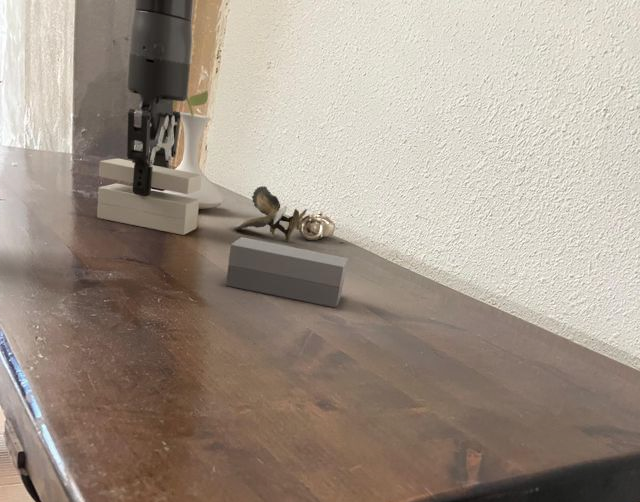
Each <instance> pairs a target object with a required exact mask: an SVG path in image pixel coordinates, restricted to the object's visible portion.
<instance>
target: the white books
mask: <svg viewBox="0 0 640 502" xmlns="http://www.w3.org/2000/svg"><path fill="white" fill-rule="evenodd" d="M198 208H199V199H194V198H189V197H184V196H179V195H174V194H168V193H163V192H158V191H153V190H151V194H150V195H149V196H141V195H136V194H134V193H133V185H127V184H122V183H118V182H115V183H112V184H111V183H110V184H107V185H102V186H99V187H98V194H97V215H96V217H97V219H101V220H106V221H111V222H117V223H121V224H126V225H131V226H137V227H142V228H145V229H151V230H156V231H161V232H166V233H172V234H176V235H181V236H185V235H186V234H188V233H190V232H193V231H194V230H196V229H197V226H198V217H199V216H198V215H199V209H198Z"/></svg>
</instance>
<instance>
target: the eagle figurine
mask: <svg viewBox="0 0 640 502" xmlns="http://www.w3.org/2000/svg"><path fill="white" fill-rule="evenodd" d="M251 199H252V203H253V206H254V207H255V208H256V209H257V210H258V211H259V212H260V213H261V214H264V215H265V216H255V217H250V218H248V219H245V221H243V222H242V223H241V224H240V225H238V226H235V227H234V228H233V229H234V230H236V231H237V230H241V229H243V228H246V229H247V228H251V227H252V228H257V229H258V228H264V227H266V226H269V233H272V236H274V235H276V233H275V232H276V230H277V229H278V230H279V231H280V232H281V233H283V234H284V236H285V241H286V242H287V243H289V242H290V238H291V235H292V232H293V231H294V229H296V228H295V226H296V224H297V223H298V222H299V221H300V220H301V218H302V217H303V218H304V217H305V216H306V212H307V210H308V209H307V208H305V209H304V210H303V211H302V212H301V213H300V212H299V210H298V209H297V208H295V209H294V210H293V214H292V215H291V216H289V217H287V216H285V215H284V214H285V213H286V211H287V209H288V207H287V205H284V206H283V207H282V208H281V203H280V201H279V198H278V197H277V195H274V194H272V193H271V192H270V191H269V189H268V187H267V186H266V185H262V186H259V187H256V189H255V190H254V192H253V195H252V196H251ZM280 222H286V223H288V226H287V228H285V227H284V226H283V224H281V223H280Z"/></svg>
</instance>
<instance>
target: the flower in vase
mask: <svg viewBox="0 0 640 502" xmlns="http://www.w3.org/2000/svg"><path fill="white" fill-rule="evenodd" d="M195 49H196V44H195V40H194V38H192V50H191V61H190V65H191V64H192V62H193V60H192V58H193V56H194V55H195V51H194V50H195ZM208 97H209V91H208V90H206V91H203V92H201V93H198V94H194V95H190V97H189V95H188V94H187V99H186V102H187V106H188V108H189V110H190V112H183V111H179V112H180V116H181V117H180V121H181V123H182V126H183V127H182V128H183V133H184V134H183V135H184V147H183V156H182V160H181V161H180V164H179V165H178V166H176V168H174V169H175V170H180V171H185V172H190V173H195V174H200V175H202V178H201V188H200V190H198V191H195V192H192V193H189V194H184V193H179V192H174V191H169V190H165V191H159V190H153V189H151V190H153V191H158V192H163V193H168V194H174V195H179V196H184V197H189V198H194V199H199V208H198V210H199V209H200V210H201V209H205V210H206V209H212V208H216V207H220V206H221V204H222V203H223V197H222V194H221V193H220V191H219V189H217V187H216V186H215V185H214V183H213V182H211V180H210V179H209V178H208V177H207V175H205V173H204V172H203V171H202V169H201V167H200V164H199V149H200V143H201V139H202V135H203V132H204V129H205V127H206V125H207V124H208V123H209V122H210V120H211V119H212V118H211V117H210V116H207V115H203V114H202V115H201V114H196V113H194V111H193V107H196V106H202V105H205V104H206V103H207V102H208V99H209V98H208ZM172 103H173V104H176V103H178V101H175V100H173V102H172Z"/></svg>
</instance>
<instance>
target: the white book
mask: <svg viewBox="0 0 640 502" xmlns="http://www.w3.org/2000/svg"><path fill="white" fill-rule="evenodd" d="M134 164H135V163H132V160H130V159H125V158H111V159H104V160H100V161H99V172H98V177H99V178H104V179H108V180H113V181H119V182H124V183H129V184H133V178H134ZM149 167H150V166H149ZM152 167H153V170H152V181H151V187H153V188H158V189H163V190H169V191H174V192H179V193H184V194H189V193H192V192H195V191H198V190H200V188H201V178H202V175H200V174H195V173H190V172H185V171H180V170H175V169H176V168H171V167H168V168H165V167H160V166H154V165H152Z"/></svg>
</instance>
